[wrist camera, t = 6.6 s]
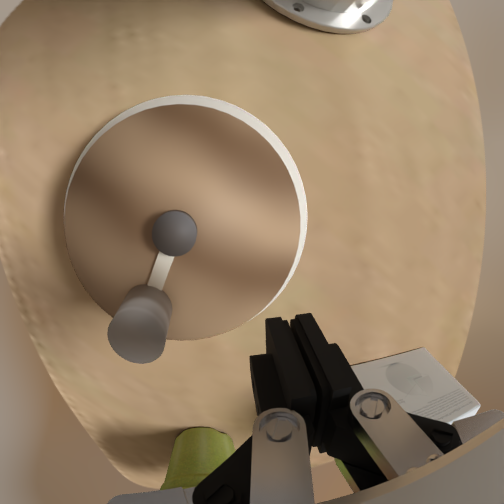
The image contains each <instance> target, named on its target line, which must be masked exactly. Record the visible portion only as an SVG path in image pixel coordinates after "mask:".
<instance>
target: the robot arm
mask: <svg viewBox="0 0 504 504" xmlns="http://www.w3.org/2000/svg"><path fill="white" fill-rule="evenodd" d="M263 1H264V2H265V3H266V4H268V5H269V6H270V7H272V8H273V9H275V10H276V11H278V12H279V13H281V14H282V15H284V16H286V17H288V18H290V19H292V20H294V21H296V22H298V23H301V24H303V25H306V26H308V27H311V28H315V29H319V30H322V31H326V32H333V33H339V34H354V33H360V32H365V31H368V30H370V29H372V28H375V27H376V26H377V25H379V24H380V23H382V22H383V21H384V20H385V19H386V18H387V17H388V16H389V14H390V11H391V9H392V4H393V0H263ZM265 326H266V354H261V355H253V356H250V371H251V380H252V388H253V394H254V399H255V405H256V410H257V416H258V417H257V418H256V420H255V421H254V425H253V435H252V436H251V437H250V438H249V439H248V440H247V441H246V442H245V443H244V444H242V445H241V446H240V447H239V448H238V449H237V450H236V451H235V452H234V453H233V454H232V455H231V456H230V457H229V458H227V459H226V460H225V461H224V462H223V463H222V464H221V465H220V466H218V467H217V468H216V469H215V470H214V471H213V472H212V473H210V474H209V475H208V476H207V477H206V478H205V479H203V480H202V481H201V482H200V483H199V484H198V485H197V486H196V487H191V488H186V489H183V488H182V487H178V488H172V489H166V490H159V491H152V492H143V493H133V494H122V495H118V496H115V497H114V498H112V499H111V500H110V501H109V502H108V504H315V503H314V493H313V484H312V474H311V466H310V452H311V447H316V446H317V447H318V450H319V453H324V452H327V454H328V455H329V456H332V457H334V458H335V459H334V460H335V462H336V465H337V466H338V468H339V470H340V471H341V473H342V474H343V476H344V478H345V479H346V481H347V483H348V484H349V486H350V488H351V489H352V491H353V492H354V493H353V494H350V495H347V496H343V497H340V498H337V499H333V500H329V501H325V502H321V503H317V504H504V413H503V412H501V411H499V410H490V411H487V412H484V413H481V414H477V415H474V416H471V417H467V418H464V419H460V420H457V421H453V423H452V424H451V425H450V424H448V423H445V422H442V421H438V420H434V419H430V418H426V417H422V416H419V415H415V414H411V413H408V412H405V410H404V409H403V408H402V407H401V406H400V405H399V404H398V403H397V402H396V400H395V399H394V398H393V397H392V396H391V395H390V394H388V393H387V392H385V391H383V390H379V389H365V390H364V388H363V387H362V385H361V383H360V382H359V380H358V378H357V376H356V375H355V373H354V371H353V370H352V368H351V366H350V365H349V363H348V361H347V359H346V358H345V356H344V354H343V353H342V351H341V349H340V348H339V346H338V345H337V344H336V343H333V344H328V342H327V340H326V339H325V337H324V335H323V333H322V331H321V330H320V328H319V326H318V324H317V323H316V321H315V319H314V317H313V316H312V314H311V313H307V314H299V315H296V316H295V319H291V321H290V326H289V323H288V321H287V320H283V321H282V318H281V317H276V318H267V319H266V320H265Z"/></svg>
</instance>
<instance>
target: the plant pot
mask: <svg viewBox="0 0 504 504" xmlns="http://www.w3.org/2000/svg"><path fill="white" fill-rule="evenodd" d="M234 452H235V448H234V445H233V442H232V439H231V438H230V437H229V436H228V435H227V434H223V433H220V432H218V431H217V430H215V429H212V428H204V427H200V428H191V429H187V430H185V431H183V432H182V433H181V434H180V435H179V436H178V437H176V439H175V443H174V447H173V451H172V455H171V459H170V462H169V466H168V470H167V474H166V478H165V482H164V483H163V485H162V486H161V488H160V490H166V489H172V488H178V487H182V488H183V489H186V488H191V487H196V486H197V485H198V484H199V483H200V482H201V481H202V480H203V479H205V478H206V477H207V476H208V475H209V474H210V473H212V472H213V471H214V470H215V469H216V468H217V467H218V466H220V465H221V464H222V463H223V462H224V461H225V460H226V459H227V458H229V457H230V456H231V455H232V454H233V453H234Z"/></svg>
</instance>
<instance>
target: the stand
mask: <svg viewBox="0 0 504 504" xmlns="http://www.w3.org/2000/svg"><path fill="white" fill-rule="evenodd" d="M174 104H189V105H199V106H204V107H209V108H213V109H216V110H219V111H222V112H225V113H228V114H230V115H232V116H234V117H236V118H238V119H240V120H242V121H243V122H245V123H246V124H248V125H249V126H251V127H252V128H253V129H255V130H256V131H257V132H258V133H260V134H261V135H262V136H263V137H264V138H265V139H266V140H267V141H268V142H269V143H270V144H271V146H272V147H273V148H274V149H275V151H276V152H277V153H278V154H279V156H280V157H281V159H282V161H283V162H284V164H285V166H286V167H287V169H288V171H289V174H290V176H291V178H292V181H293V183H294V186H295V190H296V193H297V197H298V201H299V209H300V238H299V245H298V250H297V253H296V257H295V260H294V263H293V266H292V268H291V270H290V273H289V275H288V277H287V279H286V281H285V282H284V284H283V286H282V287H281V289H280V290H279V292H278V293H277V294H276V296H275V297H274V298H273V299H272V301H271V302H270V303H269V304H268V305H267V306H266V307H265V308H264V309H266V308H267V307H268V306H269V305H270V304H271V303H272V302H273V301H274V300H275V299H276V298H277V296H278V295H279V294H280V293H281V292H282V290H283V289H284V288H285V286H286V285H287V283H288V282H289V280H290V278H291V277H292V275H293V273H294V271H295V269H296V267H297V265H298V262H299V260H300V257H301V254H302V251H303V247H304V243H305V237H306V232H307V204H306V196H305V191H304V187H303V183H302V180H301V177H300V174H299V172H298V169H297V166H296V165H295V163H294V161H293V159H292V157H291V155H290V153H289V152H288V150H287V149H286V147H285V146H284V145H283V143H282V142H281V141H280V139H279V138H278V137H277V136H276V135H275V134H274V133H273V132H272V131H271V130H270V129H269V128H268V127H267V126H266V125H265V124H264V123H262V122H261V121H260V120H259V119H257V118H256V117H255V116H253V115H252V114H250V113H248V112H247V111H245V110H243V109H241V108H239V107H238V106H235V105H233V104H230V103H227V102H225V101H222V100H219V99H214V98H210V97H206V96H196V95H174V96H166V97H161V98H156V99H152V100H149V101H146V102H143V103H141V104H138V105H136V106H134V107H132V108H130V109H128V110H126V111H124V112H122V113H121V114H119V115H118V116H116V117H115V118H114V119H112V120H111V121H110V122H108V123H107V124H106V125H105V126H104V127H103V128H102V129H101V130H100V131H99V132H98V133H97V134H96V135H95V136H94V137H93V138H92V140H91V141H90V142H89V143H88V145H87V146H86V147H85V149H84V150H83V152H82V154H81V155H80V157H79V159H78V160H77V163H76V165H75V167H74V169H73V172H72V174H71V177H70V180H69V184H68V187H67V191H66V197H65V204H66V199H67V194H68V190H69V186H70V184H71V181H72V178H73V176H74V173H75V171H76V169H77V167H78V166H79V164H80V162H81V160H82V158H83V157H84V156H85V154H86V153H87V151H88V150H89V149H90V147H91V146H92V145H93V144H94V143H95V142H96V141H97V140H98V139H99V138H100V137H101V136H102V135H103V134H104V133H105V132H106V131H108V130H109V129H110V128H111V127H113V126H114V125H115V124H117V123H119V122H120V121H122V120H124V119H125V118H127V117H129V116H131V115H133V114H136V113H138V112H141V111H143V110H146V109H150V108H154V107H158V106H164V105H174ZM64 214H65V205H64ZM264 309H263V310H264ZM263 310H262V311H263ZM262 311H261V312H262ZM261 312H259V313H261ZM259 313H258V314H259ZM258 314H257V315H258ZM257 315H255V316H257ZM255 316H254V317H255ZM254 317H253V318H254ZM250 320H251V319H250Z"/></svg>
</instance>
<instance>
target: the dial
mask: <svg viewBox="0 0 504 504" xmlns="http://www.w3.org/2000/svg"><path fill="white" fill-rule="evenodd" d="M64 230H65V239H66V245H67V250H68V253H69V256H70V260H71V263H72V265H73V267H74V270H75V272H76V274H77V276H78V278H79V280H80V281H81V283H82V285H83V287H84V288H85V290H86V291H87V292H88V293H89V295H90V296H91V297H92V299H93V300H94V301H95V302H96V303H97V304H98V305H99V306H100V307H101V308H102V309H103V310H104V311H105V312H107V313H108V314H109V315H110V316H112V317H113V319H112V321H111V323H110V325H109V327H108V340H109V343H110V345H111V347H112V348H113V350H114V351H115V352H116V353H117V354H118V355H119V356H121V357H122V358H124V359H126V360H128V361H130V362H133V363H140V364H144V363H150V362H152V361H154V360H156V359H157V358H159V357H160V356H161V354H162V352H163V350H164V346H165V342H166V339H167V340H181V341H182V340H198V339H204V338H210V337H213V336H217V335H220V334H223V333H226V332H228V331H230V330H233V329H235V328H237V327H239V326H240V325H242V324H244V323H246V322H247V321H249V320H250V319H252V318H253V317H254V316H255V315H257V314H258V313H259V312H261V311H262V310H263V309H264V308H265V307H266V306H267V305H268V304H269V303H270V302H271V301H272V299H273V298H274V297H275V296H276V294H277V293H278V292H279V290H280V289H281V287H282V286H283V284H284V282H285V281H286V279H287V277H288V275H289V273H290V270H291V268H292V266H293V263H294V260H295V257H296V253H297V250H298V245H299V238H300V209H299V201H298V197H297V193H296V190H295V186H294V183H293V181H292V178H291V176H290V174H289V171H288V169H287V167H286V166H285V164H284V162H283V161H282V159H281V157H280V156H279V154H278V153H277V152H276V151H275V149H274V148H273V147H272V146H271V144H270V143H269V142H268V141H267V140H266V139H265V138H264V137H263V136H262V135H261V134H260V133H258V132H257V131H256V130H255V129H253V128H252V127H251V126H249V125H248V124H246V123H245V122H243V121H242V120H240V119H238V118H236V117H234V116H232V115H230V114H228V113H225V112H222V111H219V110H216V109H213V108H209V107H204V106H199V105H189V104H174V105H164V106H158V107H154V108H150V109H146V110H143V111H141V112H138V113H136V114H133V115H131V116H129V117H127V118H125V119H124V120H122V121H120V122H119V123H117V124H115V125H114V126H113V127H111V128H110V129H109V130H108V131H106V132H105V133H104V134H103V135H102V136H101V137H100V138H99V139H98V140H97V141H96V142H95V143H94V144H93V145H92V146H91V147H90V149H89V150H88V151H87V153H86V154H85V156H84V157H83V158H82V160H81V162H80V164H79V166H78V167H77V169H76V171H75V173H74V176H73V178H72V181H71V184H70V186H69V190H68V194H67V199H66V204H65V214H64Z"/></svg>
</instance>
